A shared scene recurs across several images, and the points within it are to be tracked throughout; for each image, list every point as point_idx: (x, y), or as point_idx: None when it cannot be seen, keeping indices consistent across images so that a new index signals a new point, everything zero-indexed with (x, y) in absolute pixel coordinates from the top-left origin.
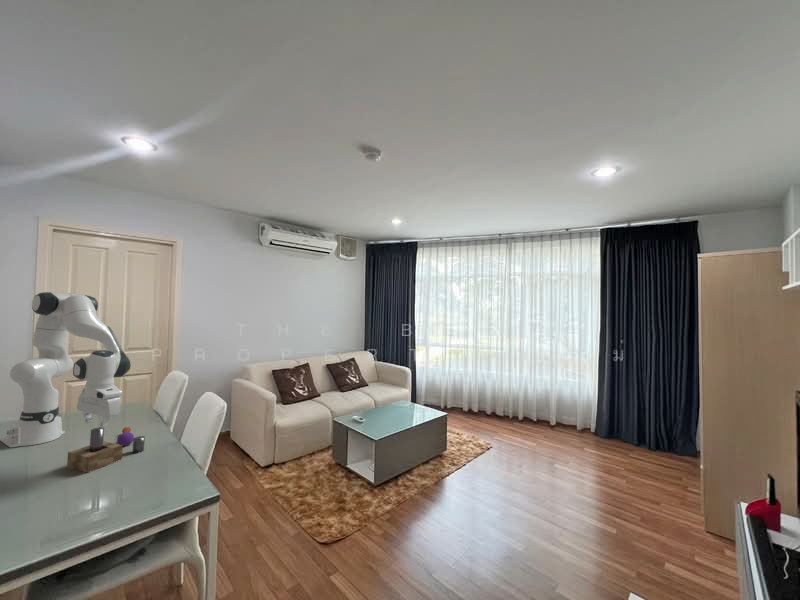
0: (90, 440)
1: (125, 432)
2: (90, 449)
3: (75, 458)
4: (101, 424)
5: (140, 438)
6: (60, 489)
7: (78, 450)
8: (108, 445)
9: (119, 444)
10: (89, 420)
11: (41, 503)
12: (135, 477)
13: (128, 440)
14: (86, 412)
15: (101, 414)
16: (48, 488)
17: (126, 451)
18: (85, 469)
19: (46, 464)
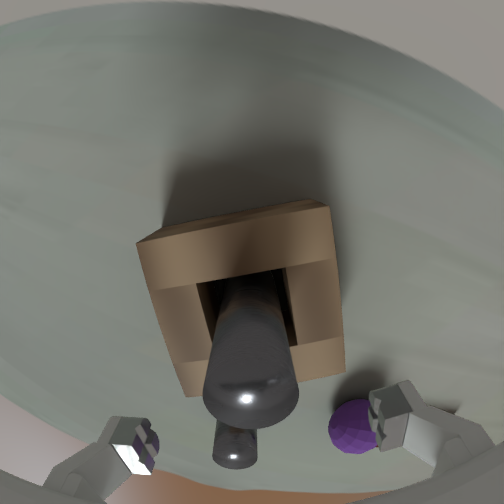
0: (251, 315)
1: (372, 445)
2: (243, 290)
3: (254, 216)
4: (124, 428)
5: (220, 456)
6: (91, 120)
7: (308, 250)
8: None
9: (351, 401)
10: (378, 417)
11: (47, 71)
12: (15, 302)
13: (330, 429)
14: (449, 466)
15: (39, 500)
16: (135, 93)
17: None
18: (173, 226)
19: (419, 168)
